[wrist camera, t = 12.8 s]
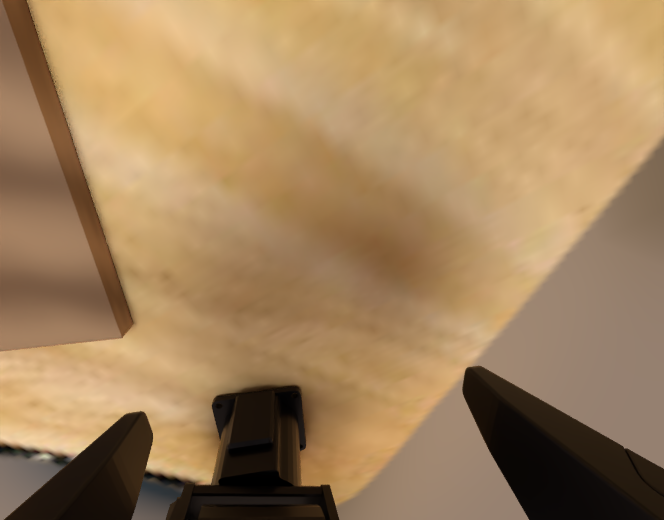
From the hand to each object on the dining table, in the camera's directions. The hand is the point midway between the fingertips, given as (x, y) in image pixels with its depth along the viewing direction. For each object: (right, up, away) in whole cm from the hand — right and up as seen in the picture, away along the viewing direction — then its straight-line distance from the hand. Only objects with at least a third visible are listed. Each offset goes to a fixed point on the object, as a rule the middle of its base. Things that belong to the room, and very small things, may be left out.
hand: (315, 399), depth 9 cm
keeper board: (-20, +8, +7) cm, 22 cm away
